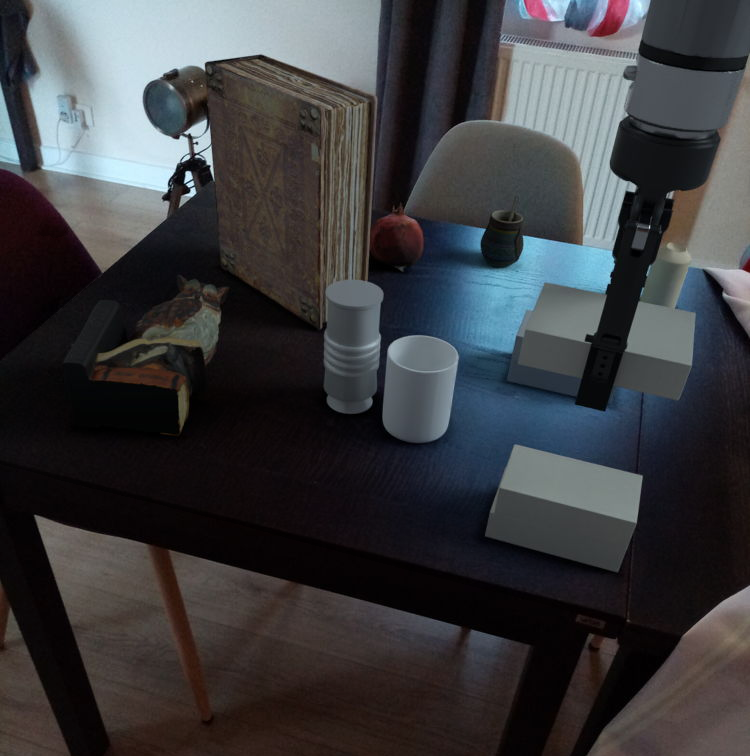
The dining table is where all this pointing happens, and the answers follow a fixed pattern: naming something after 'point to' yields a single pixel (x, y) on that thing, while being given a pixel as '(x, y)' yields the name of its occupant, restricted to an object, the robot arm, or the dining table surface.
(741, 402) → the dining table surface
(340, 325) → the grey ribbed cylinder
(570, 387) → the grey stack
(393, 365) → the mug
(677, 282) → the cream cylinder
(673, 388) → the white box lid
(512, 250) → the mate gourd
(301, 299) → the book
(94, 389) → the bookend
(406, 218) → the fruit
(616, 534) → the white stack
